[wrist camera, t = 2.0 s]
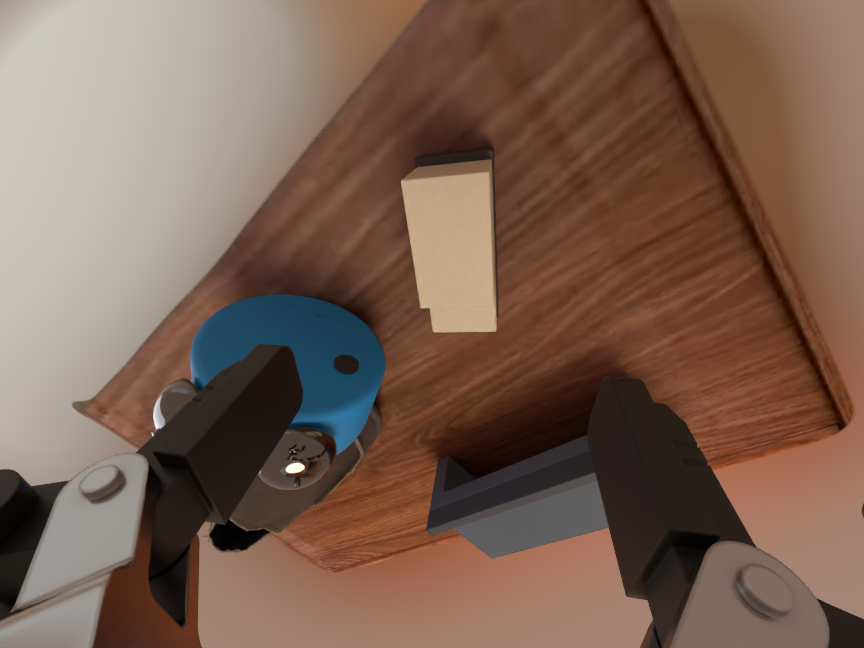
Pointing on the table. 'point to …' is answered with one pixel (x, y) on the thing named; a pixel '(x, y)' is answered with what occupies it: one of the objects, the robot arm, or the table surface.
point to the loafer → (287, 498)
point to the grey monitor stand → (520, 500)
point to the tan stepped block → (454, 238)
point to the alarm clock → (318, 369)
